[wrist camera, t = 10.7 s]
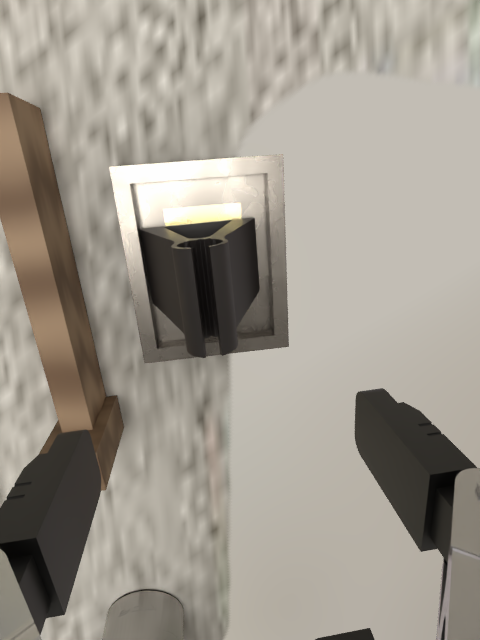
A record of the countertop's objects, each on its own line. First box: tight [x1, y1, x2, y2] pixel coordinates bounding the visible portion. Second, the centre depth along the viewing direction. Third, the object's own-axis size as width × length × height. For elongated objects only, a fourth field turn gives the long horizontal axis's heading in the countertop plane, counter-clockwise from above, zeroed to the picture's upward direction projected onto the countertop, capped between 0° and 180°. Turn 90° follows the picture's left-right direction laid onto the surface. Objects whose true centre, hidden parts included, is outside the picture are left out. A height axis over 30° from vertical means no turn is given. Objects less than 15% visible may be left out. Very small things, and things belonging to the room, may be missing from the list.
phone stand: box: [140, 218, 260, 358], centre depth 25 cm, size 9×6×12 cm, turn 95°
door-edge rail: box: [0, 93, 124, 491], centre depth 28 cm, size 28×4×8 cm, turn 4°
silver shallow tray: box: [109, 154, 289, 363], centre depth 31 cm, size 15×12×3 cm
